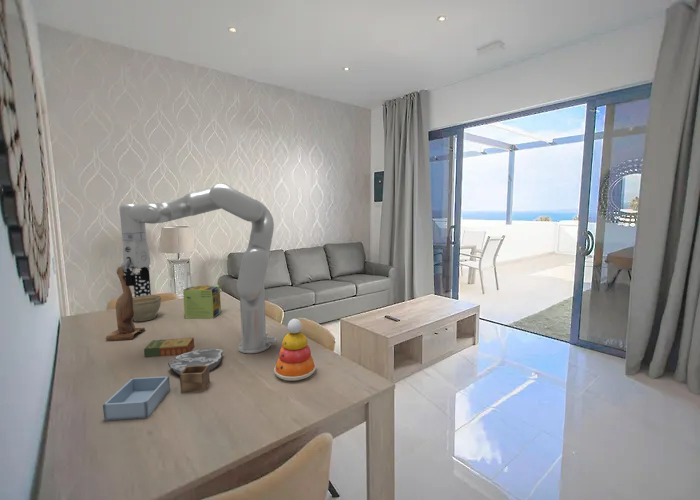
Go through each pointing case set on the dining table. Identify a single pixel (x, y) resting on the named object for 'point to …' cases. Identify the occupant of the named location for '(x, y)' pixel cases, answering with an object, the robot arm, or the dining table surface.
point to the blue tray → (136, 398)
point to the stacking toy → (294, 355)
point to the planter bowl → (146, 307)
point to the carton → (169, 347)
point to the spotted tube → (141, 286)
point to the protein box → (202, 302)
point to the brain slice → (197, 359)
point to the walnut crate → (194, 378)
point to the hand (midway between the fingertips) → (138, 282)
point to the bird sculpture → (124, 313)
